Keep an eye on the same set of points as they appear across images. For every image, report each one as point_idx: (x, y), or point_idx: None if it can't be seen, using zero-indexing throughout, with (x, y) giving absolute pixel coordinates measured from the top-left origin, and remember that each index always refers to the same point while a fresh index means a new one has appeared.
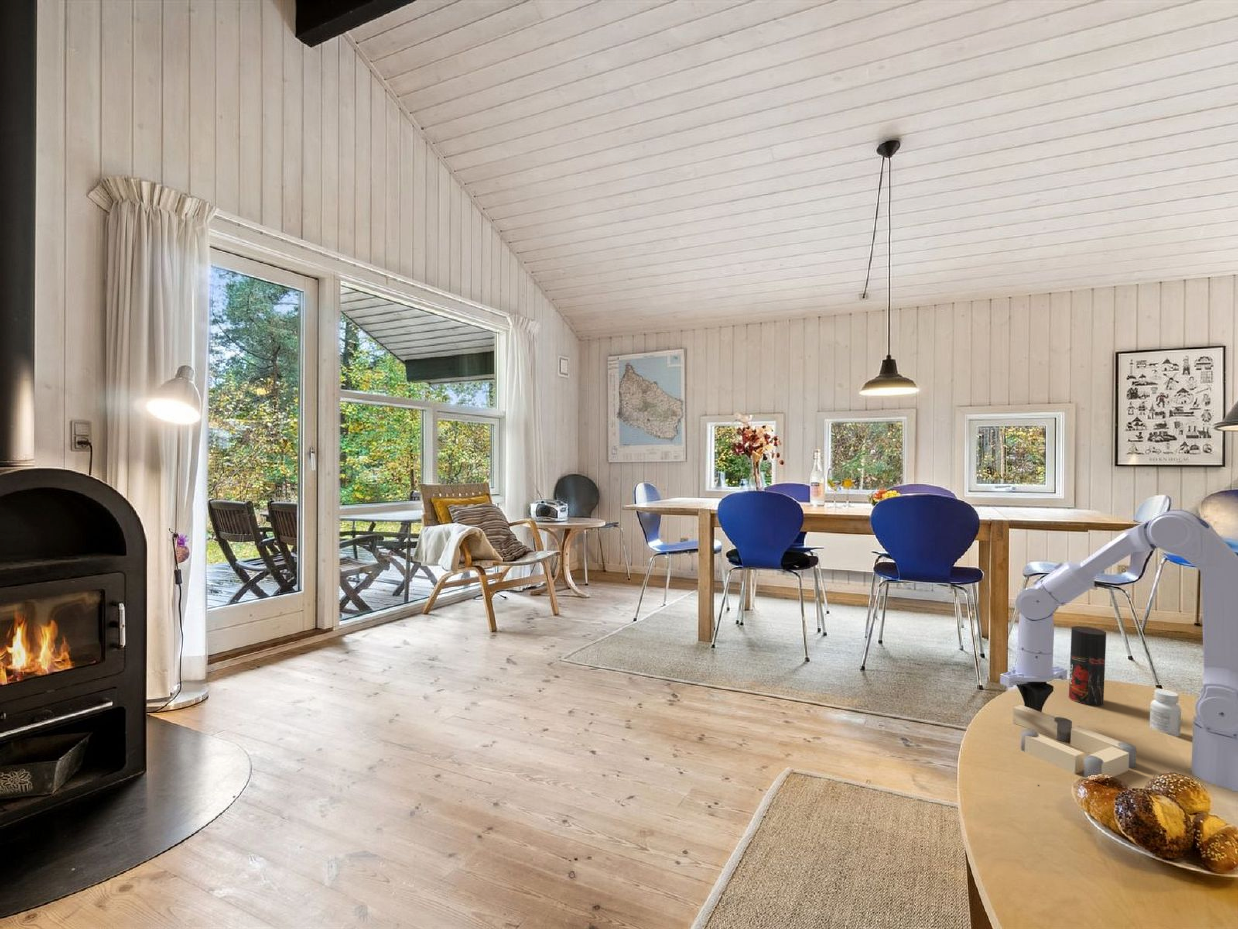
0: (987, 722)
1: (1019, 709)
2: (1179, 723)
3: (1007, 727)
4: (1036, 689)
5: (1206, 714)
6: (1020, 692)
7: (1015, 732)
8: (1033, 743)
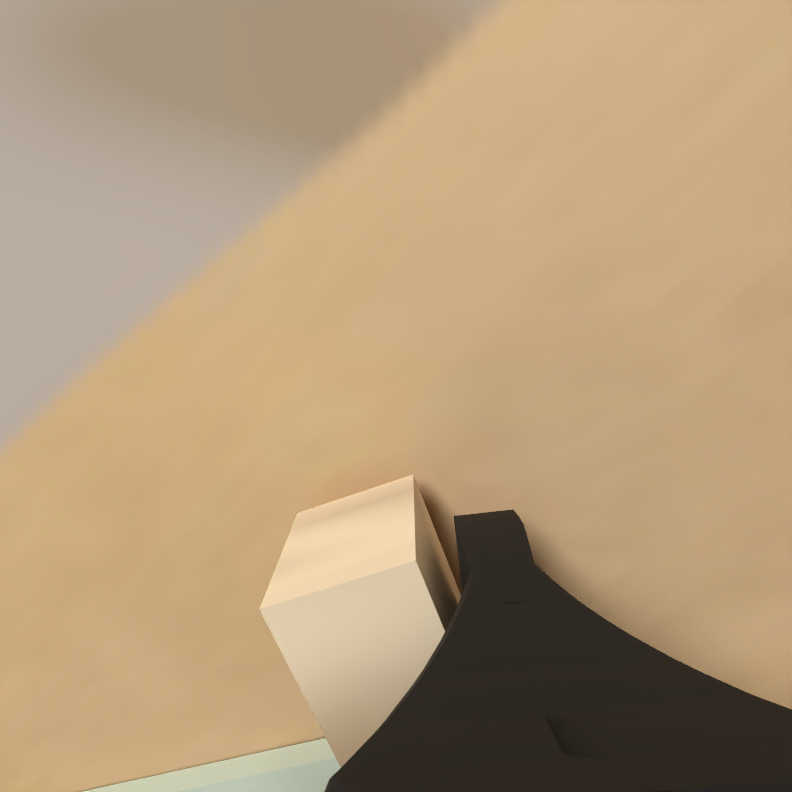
0: (128, 388)
1: (291, 661)
2: None
3: (246, 500)
4: None
5: None
6: (422, 676)
7: (248, 582)
8: None
